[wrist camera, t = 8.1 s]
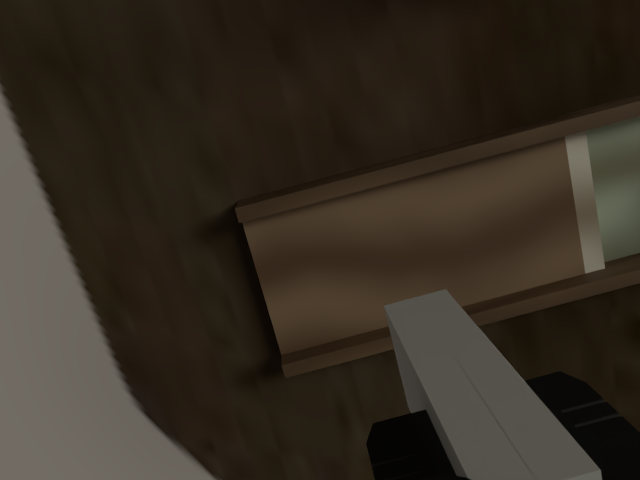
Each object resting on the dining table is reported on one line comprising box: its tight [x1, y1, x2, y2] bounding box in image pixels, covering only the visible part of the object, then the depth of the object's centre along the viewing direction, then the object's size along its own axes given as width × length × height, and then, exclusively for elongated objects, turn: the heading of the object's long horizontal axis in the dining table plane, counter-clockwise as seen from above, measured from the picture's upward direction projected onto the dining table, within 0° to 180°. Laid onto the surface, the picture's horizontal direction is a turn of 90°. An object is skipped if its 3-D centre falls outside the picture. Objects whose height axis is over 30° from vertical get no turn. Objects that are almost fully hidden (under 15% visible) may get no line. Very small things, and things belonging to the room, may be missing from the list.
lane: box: [235, 94, 640, 378], centre depth 31 cm, size 10×36×5 cm, turn 104°
